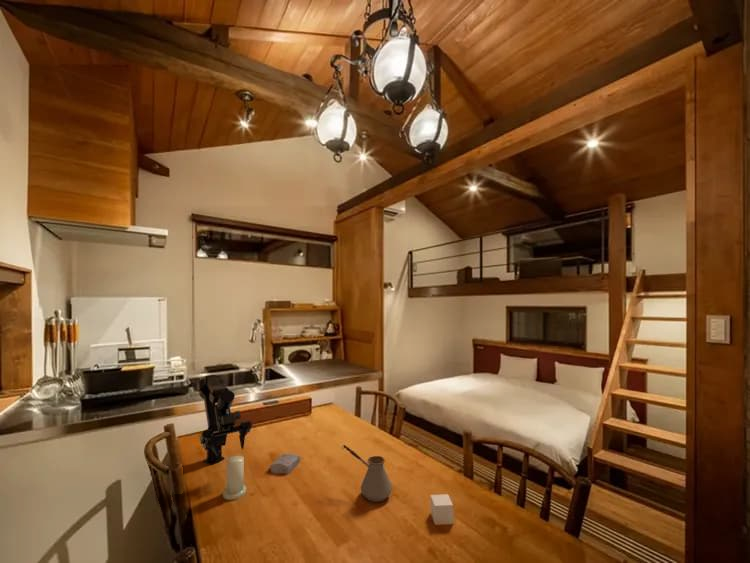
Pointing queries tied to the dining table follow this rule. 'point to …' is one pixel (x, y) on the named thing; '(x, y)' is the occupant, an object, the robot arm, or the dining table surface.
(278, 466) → the stone block
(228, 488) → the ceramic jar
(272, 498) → the dining table surface
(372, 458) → the coffee pot
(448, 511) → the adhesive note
